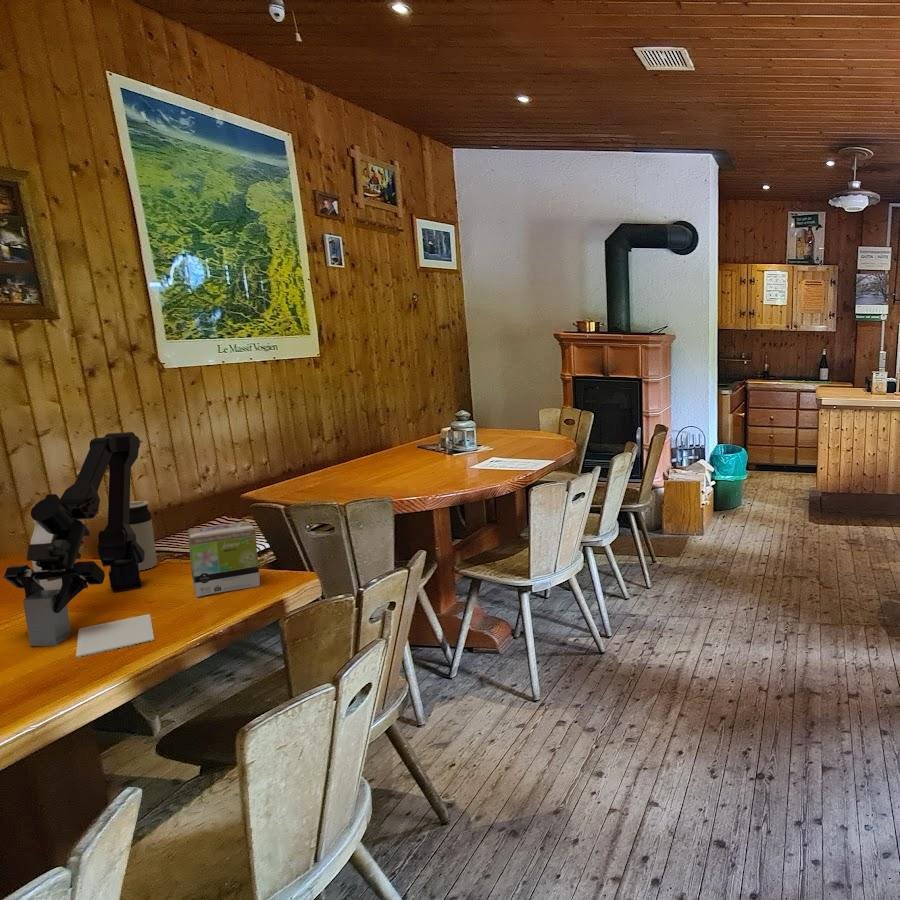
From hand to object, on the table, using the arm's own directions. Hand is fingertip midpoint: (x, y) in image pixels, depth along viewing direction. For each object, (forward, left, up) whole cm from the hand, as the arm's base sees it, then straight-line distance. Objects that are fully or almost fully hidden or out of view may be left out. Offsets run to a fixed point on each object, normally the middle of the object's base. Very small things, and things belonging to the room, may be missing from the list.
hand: (42, 613), depth 142 cm
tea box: (-38, -14, -7) cm, 41 cm away
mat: (-13, +4, -7) cm, 15 cm away
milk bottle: (+1, -42, -7) cm, 43 cm away
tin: (-1, -1, -7) cm, 7 cm away
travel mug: (-20, -46, -7) cm, 51 cm away
